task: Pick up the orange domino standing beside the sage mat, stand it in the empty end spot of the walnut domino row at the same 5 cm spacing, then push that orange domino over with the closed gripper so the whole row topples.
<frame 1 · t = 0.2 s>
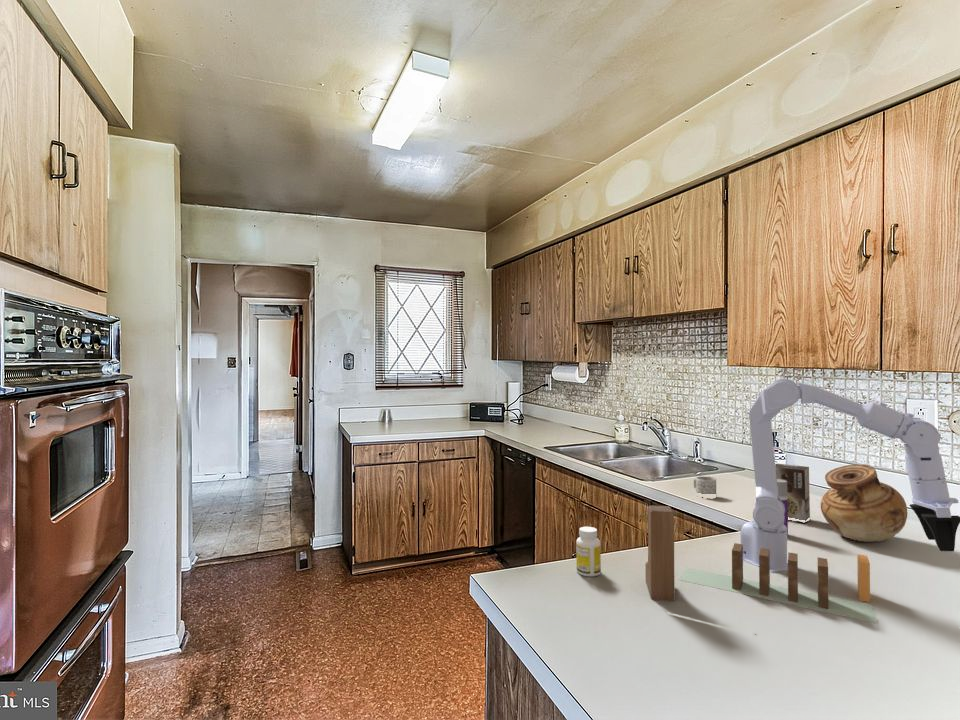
hand: (940, 544, 102), 10 cm above the countertop, tool pointing down, fingers open, 7 cm apart
orange domino: (863, 598, 101), on the countertop
domino 1: (737, 585, 107), resting on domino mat
clay pot: (862, 539, 136), on the countertop
coffee box: (791, 519, 155), on the countertop
domino 4: (823, 603, 99), resting on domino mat
domino 3: (793, 596, 101), resting on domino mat
domino 2: (764, 590, 104), resting on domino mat
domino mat: (770, 593, 103), on the countertop
mug: (703, 496, 182), on the countertop
supplement bottle: (588, 573, 114), on the countertop
wooden block: (659, 593, 104), on the countertop
container: (778, 535, 140), on the countertop
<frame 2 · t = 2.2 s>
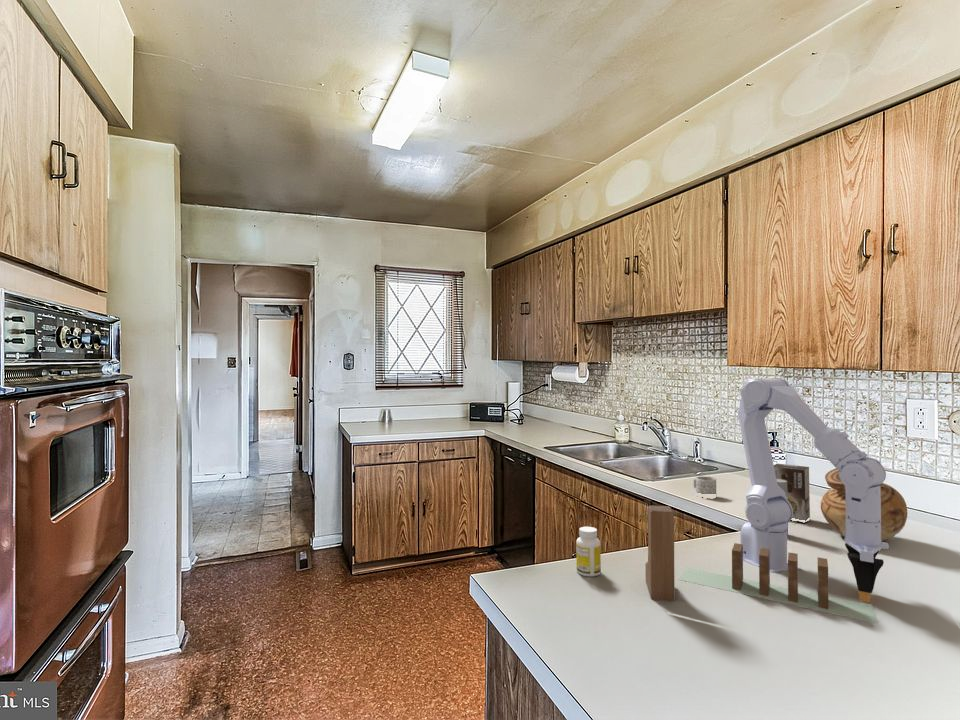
hand: (863, 586, 101), 2 cm above the countertop, tool pointing down, fingers closed on orange domino, 5 cm apart
orange domino: (863, 598, 101), on the countertop, touching gripper
everything else where it was.
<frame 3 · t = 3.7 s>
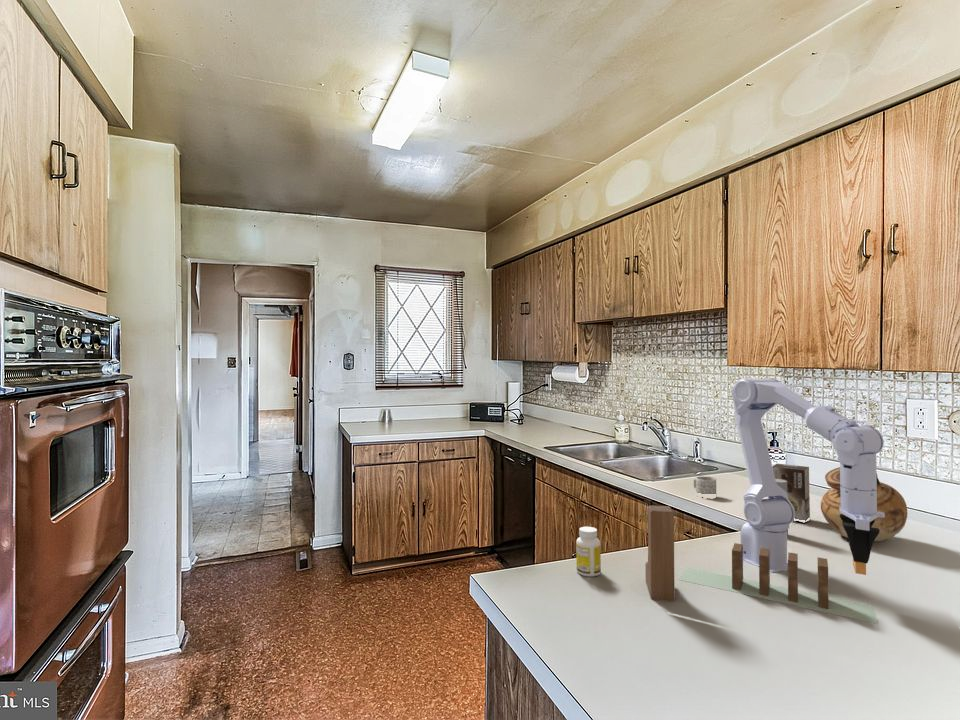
hand: (859, 557, 98), 9 cm above the countertop, tool pointing down, fingers closed on orange domino, 5 cm apart
orange domino: (859, 569, 98), point 7 cm above the countertop, touching gripper
everything else where it was.
when the fingers open (4 cm above the countertop, at t = 5.5 s): orange domino stays where it is, resting on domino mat.
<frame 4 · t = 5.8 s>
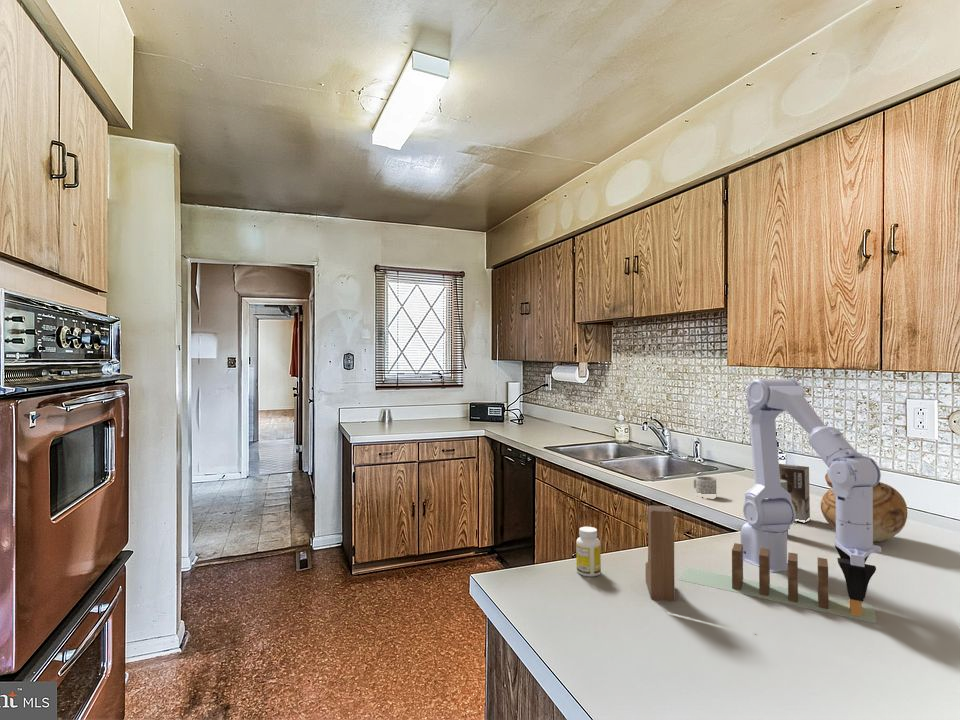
hand: (854, 591, 96), 4 cm above the countertop, tool pointing down, fingers open, 7 cm apart
orange domino: (855, 609, 96), resting on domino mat
everything else where it was.
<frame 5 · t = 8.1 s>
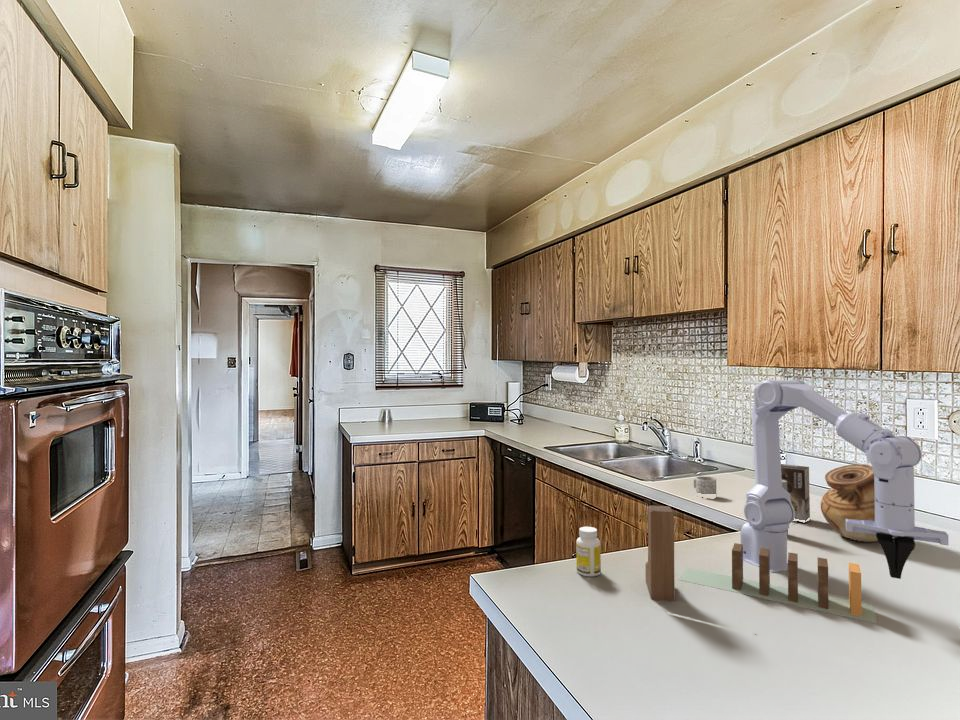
hand: (895, 576, 93), 8 cm above the countertop, tool pointing down, fingers closed
nothing on the countertop moved.
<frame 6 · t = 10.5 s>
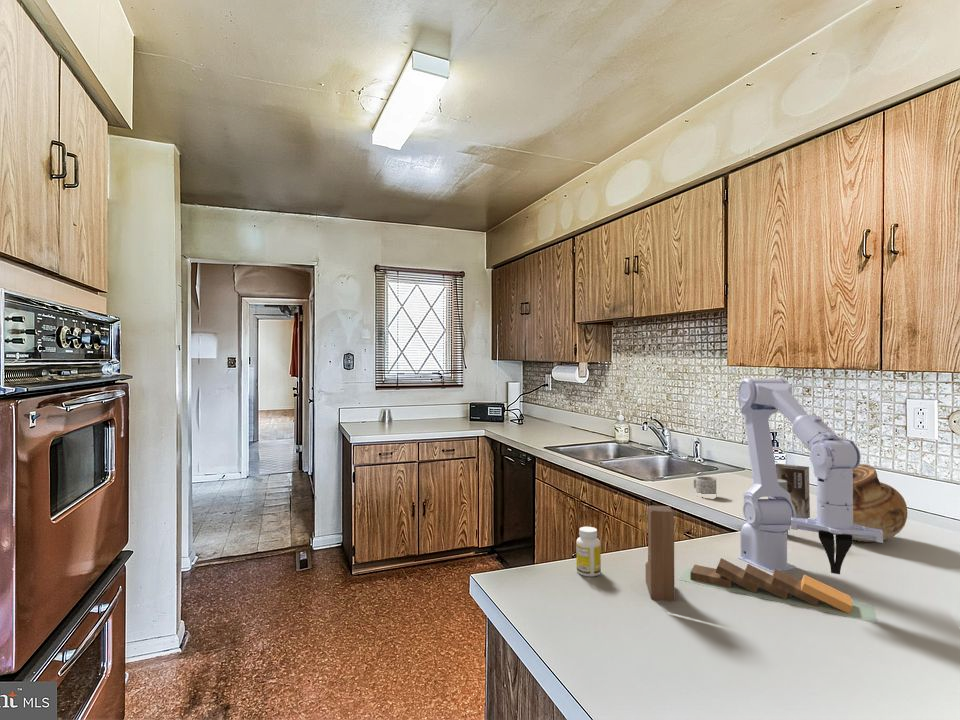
hand: (835, 572, 98), 7 cm above the countertop, tool pointing down, fingers closed
orange domino: (849, 604, 96), point 1 cm above the countertop, tilted 72°, touching domino 4, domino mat
domino 1: (732, 580, 107), point 1 cm above the countertop, tilted 90°, touching domino 2, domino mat
domino 4: (817, 598, 99), point 1 cm above the countertop, tilted 72°, touching domino 3, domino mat, orange domino
domino 3: (787, 591, 102), point 1 cm above the countertop, tilted 72°, touching domino 2, domino 4, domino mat
domino 2: (757, 585, 105), point 1 cm above the countertop, tilted 70°, touching domino 1, domino 3, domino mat
everything else where it was.
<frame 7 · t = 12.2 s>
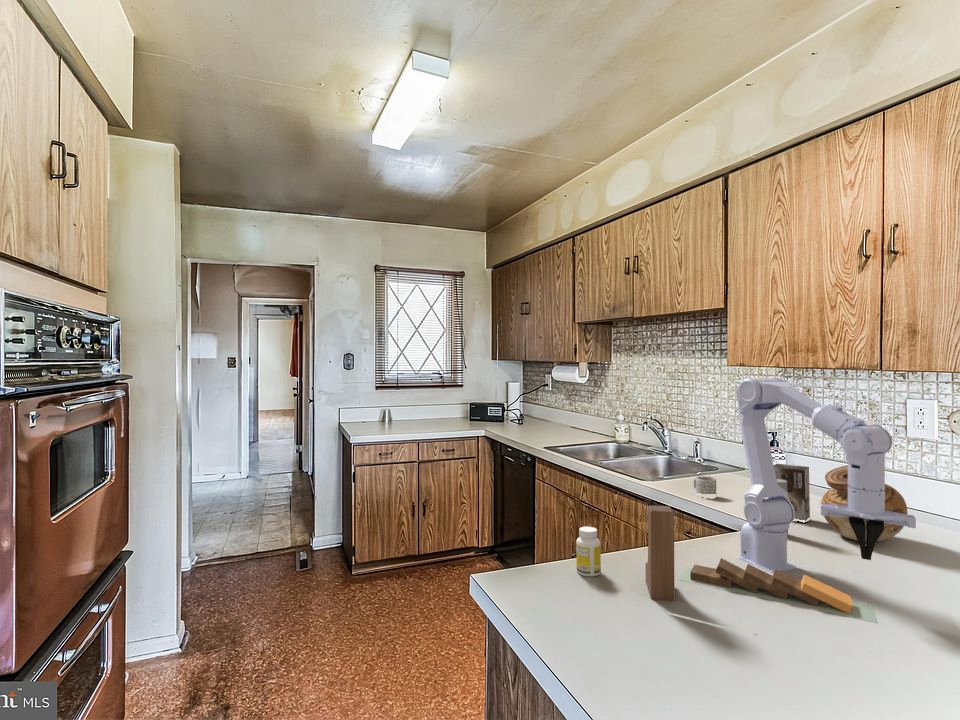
hand: (865, 557, 97), 10 cm above the countertop, tool pointing down, fingers closed
nothing on the countertop moved.
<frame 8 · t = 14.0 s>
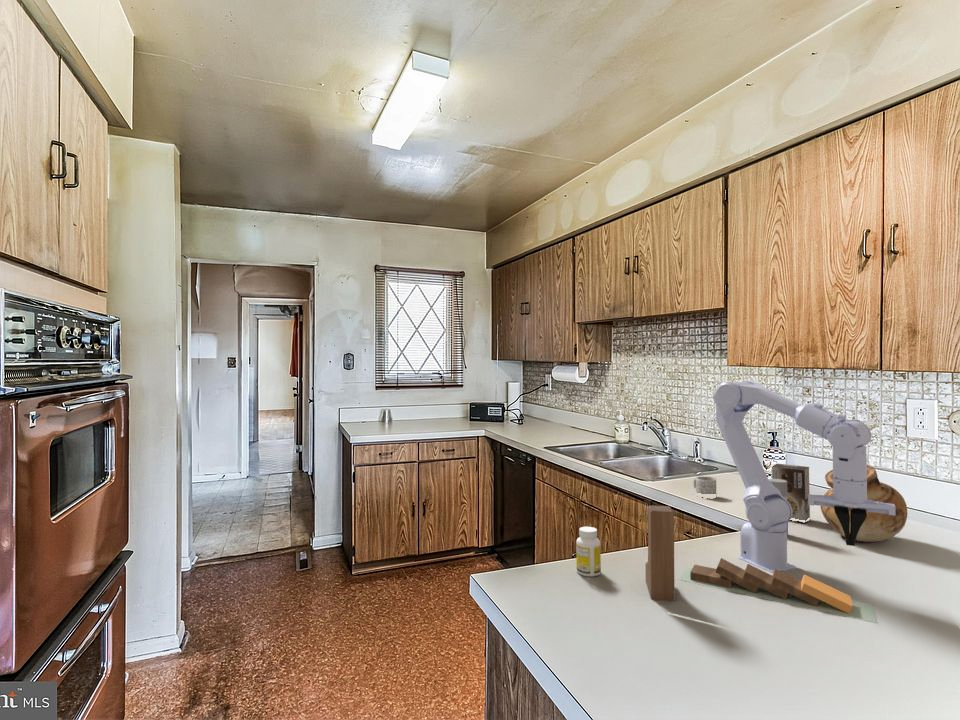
hand: (850, 544, 104), 10 cm above the countertop, tool pointing down, fingers closed
nothing on the countertop moved.
at the end: domino 1 tilted 90°; orange domino tilted 72°; the gripper is holding nothing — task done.
